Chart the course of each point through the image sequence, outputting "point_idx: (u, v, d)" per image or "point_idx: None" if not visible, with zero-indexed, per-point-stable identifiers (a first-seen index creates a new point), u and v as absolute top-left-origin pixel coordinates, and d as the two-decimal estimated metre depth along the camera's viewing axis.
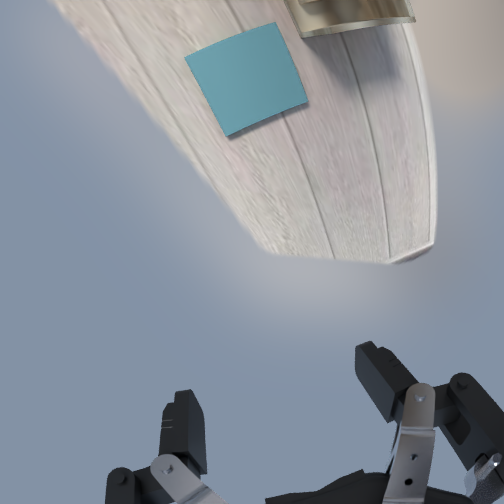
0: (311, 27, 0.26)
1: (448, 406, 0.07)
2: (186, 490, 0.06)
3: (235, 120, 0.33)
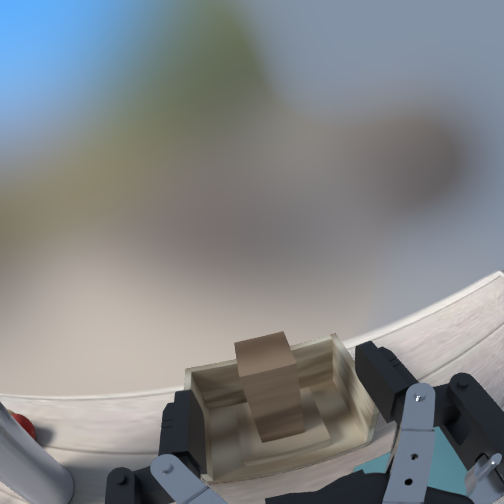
0: (358, 434, 0.26)
1: (448, 406, 0.07)
2: (186, 490, 0.06)
3: None
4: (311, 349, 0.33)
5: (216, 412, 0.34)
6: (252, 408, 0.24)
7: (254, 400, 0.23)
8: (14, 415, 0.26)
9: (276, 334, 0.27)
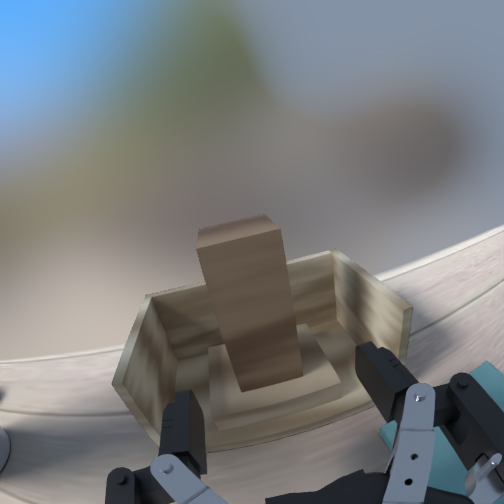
0: None
1: (448, 406, 0.07)
2: (186, 490, 0.06)
3: None
4: (305, 267, 0.27)
5: (186, 362, 0.27)
6: (219, 317, 0.17)
7: (221, 301, 0.17)
8: None
9: (255, 216, 0.21)
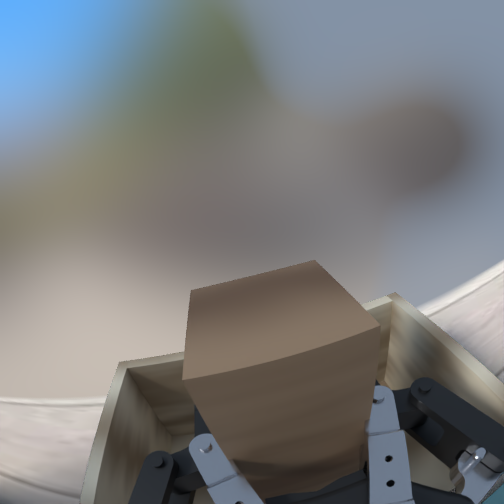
0: (444, 471, 0.10)
1: (408, 410, 0.08)
2: (218, 472, 0.07)
3: None
4: None
5: (182, 442, 0.17)
6: (238, 464, 0.07)
7: (241, 449, 0.07)
8: None
9: (300, 267, 0.11)
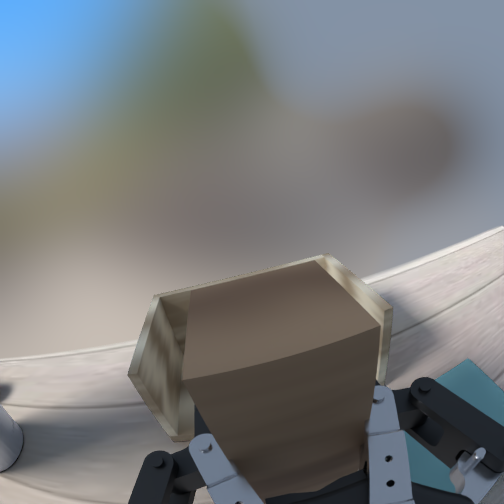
0: None
1: (408, 410, 0.08)
2: (218, 472, 0.07)
3: None
4: None
5: None
6: (238, 464, 0.07)
7: (241, 449, 0.07)
8: None
9: (300, 267, 0.11)
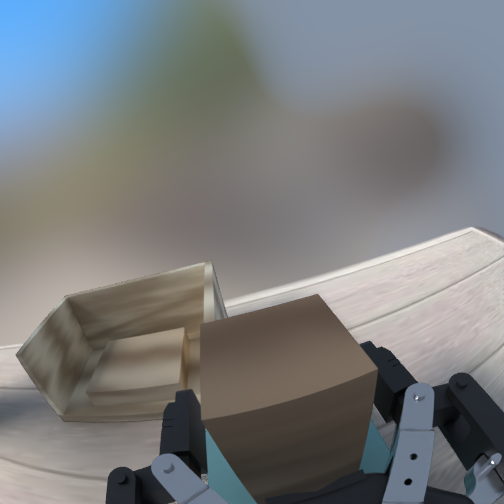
0: None
1: (447, 406, 0.07)
2: (187, 489, 0.06)
3: None
4: (181, 277, 0.29)
5: (97, 352, 0.30)
6: (247, 481, 0.08)
7: (251, 469, 0.08)
8: None
9: (303, 301, 0.11)
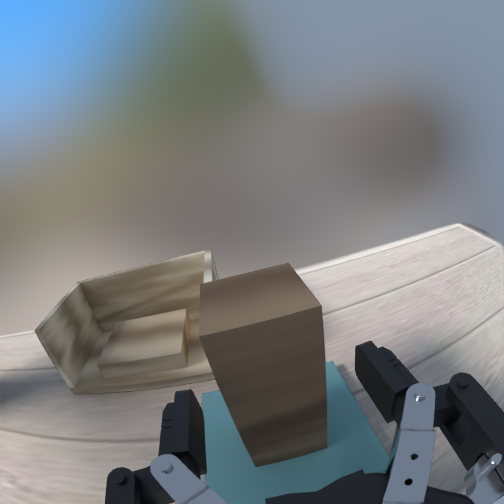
0: None
1: (448, 406, 0.07)
2: (186, 490, 0.06)
3: (362, 452, 0.14)
4: (183, 263, 0.34)
5: (106, 334, 0.34)
6: (232, 408, 0.12)
7: (234, 393, 0.12)
8: None
9: (277, 267, 0.15)
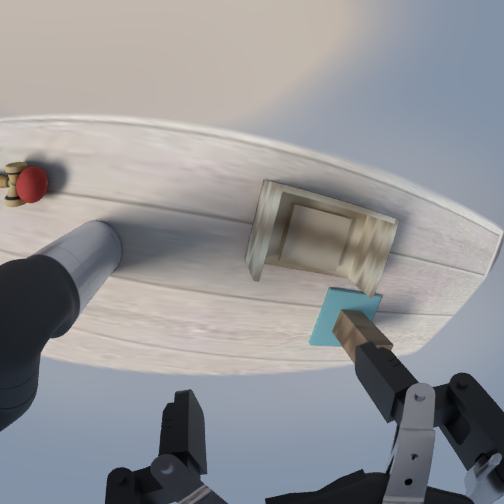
0: (348, 269, 0.48)
1: (448, 406, 0.07)
2: (186, 490, 0.06)
3: None
4: None
5: None
6: (348, 353, 0.44)
7: None
8: (25, 179, 0.30)
9: (389, 346, 0.40)
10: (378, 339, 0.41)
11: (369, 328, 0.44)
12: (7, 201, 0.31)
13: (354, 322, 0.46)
